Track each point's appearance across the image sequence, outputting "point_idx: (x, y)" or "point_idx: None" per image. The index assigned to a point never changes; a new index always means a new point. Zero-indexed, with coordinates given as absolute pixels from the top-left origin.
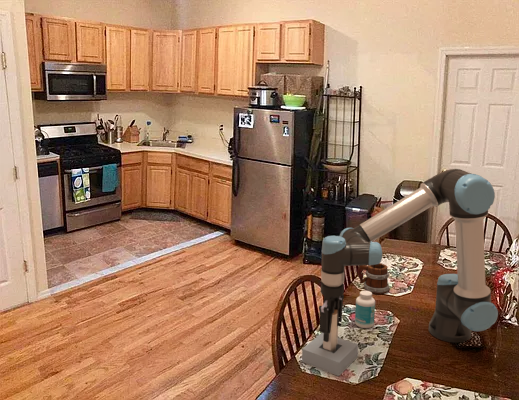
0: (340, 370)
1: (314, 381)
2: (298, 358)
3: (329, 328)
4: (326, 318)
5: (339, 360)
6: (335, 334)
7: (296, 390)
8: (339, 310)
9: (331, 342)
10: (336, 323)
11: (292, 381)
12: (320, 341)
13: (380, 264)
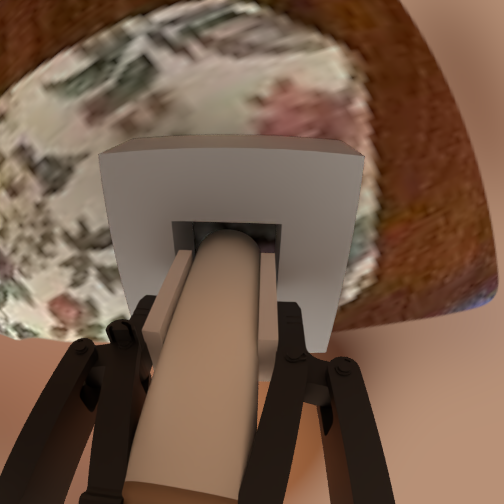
0: (329, 142)
1: (417, 216)
2: None
3: (296, 383)
4: (386, 500)
5: (342, 163)
6: (217, 302)
7: (474, 245)
8: (59, 434)
9: (252, 280)
10: (188, 378)
11: (438, 277)
12: None
13: None
